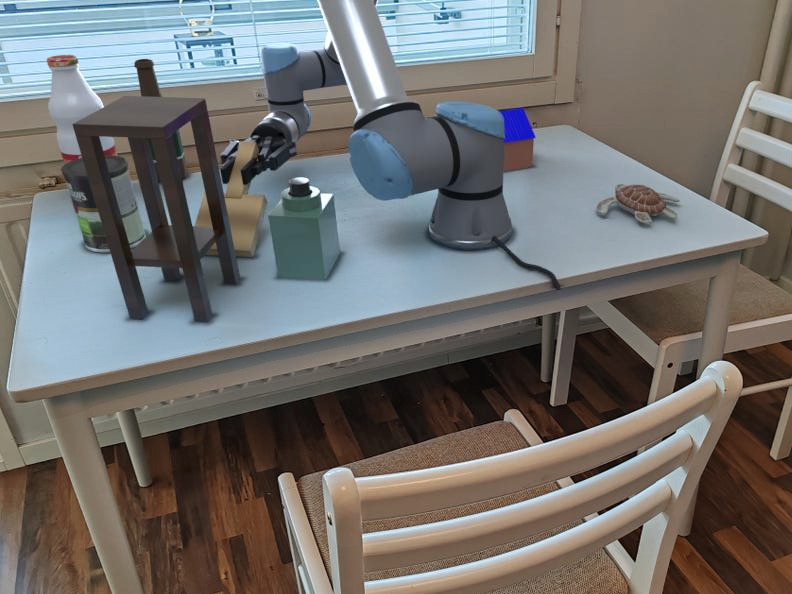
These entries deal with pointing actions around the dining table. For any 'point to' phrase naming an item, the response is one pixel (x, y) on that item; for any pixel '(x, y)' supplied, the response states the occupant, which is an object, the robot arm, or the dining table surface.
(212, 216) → the plant stand
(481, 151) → the robot arm
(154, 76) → the beer bottle
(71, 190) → the coffee can
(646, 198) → the decorative turtle
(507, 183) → the dining table surface
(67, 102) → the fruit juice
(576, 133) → the dining table surface
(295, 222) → the soap bottle
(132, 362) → the dining table surface
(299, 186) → the black bottle cap
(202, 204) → the cutting board
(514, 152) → the house
